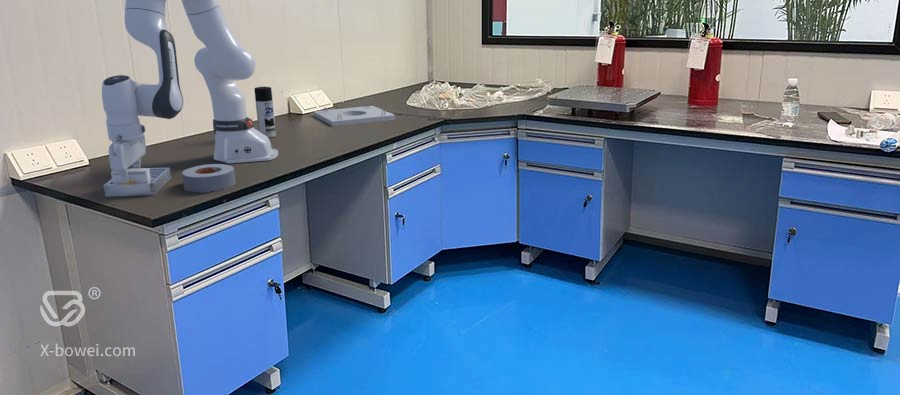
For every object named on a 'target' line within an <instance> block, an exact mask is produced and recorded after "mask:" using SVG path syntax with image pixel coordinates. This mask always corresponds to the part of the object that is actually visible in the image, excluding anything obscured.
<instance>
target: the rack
mask: <svg viewBox="0 0 900 395" xmlns="http://www.w3.org/2000/svg"><path fill="white" fill-rule="evenodd" d="M149 169H150V176H151V183H135V181H132V182H128V183H123V184H113V181H112V178H111V179H110V180H109V181H107V182H106V183H104V184H103V186H102V187H103V191H104V197H106V198H107V197H108V198H109V197H131V196H132V197H135V196H136V197H138V196H140V197H141V196H142V197H143V196H155V195H157V193H158V192H160V190H161V189H162V188H164V186H166V185H167V183H168V182H169V181H170V180H172V179H173V177H172V169H171V167H149Z"/></svg>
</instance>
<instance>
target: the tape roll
mask: <svg viewBox="0 0 900 395" xmlns="http://www.w3.org/2000/svg"><path fill="white" fill-rule="evenodd" d="M181 175H182V182H183V189H184V190H185V191H187V192H191V191H192V193H211V191H214V192H218V191H219V190H220V191H223V189H224V190H228V189H230V188H232V187H233V186H235V185H236V174H235V168H234V166H233V165H230V164H229V165H228V164H223V163H219V164H218V163H214V164H211V163H210V164H203V165H202V164H201V165H196V166H193V167H189V168H186V169H184V170H183V171H182V172H181ZM220 191H219V192H220Z"/></svg>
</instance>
